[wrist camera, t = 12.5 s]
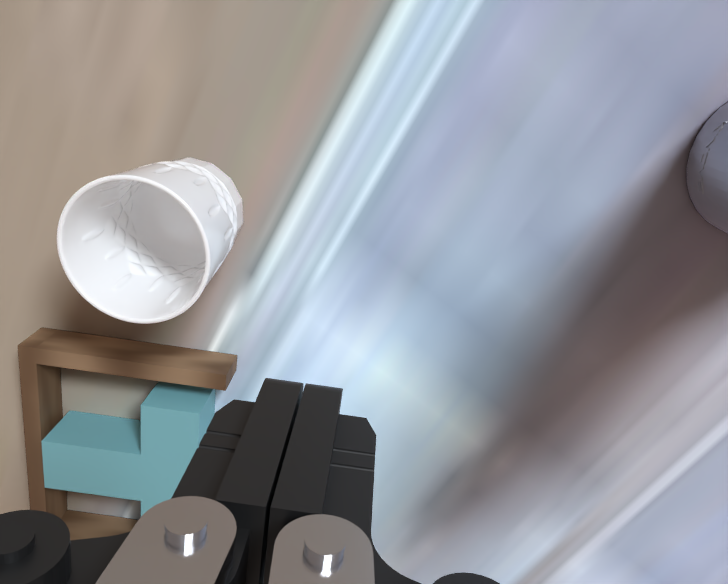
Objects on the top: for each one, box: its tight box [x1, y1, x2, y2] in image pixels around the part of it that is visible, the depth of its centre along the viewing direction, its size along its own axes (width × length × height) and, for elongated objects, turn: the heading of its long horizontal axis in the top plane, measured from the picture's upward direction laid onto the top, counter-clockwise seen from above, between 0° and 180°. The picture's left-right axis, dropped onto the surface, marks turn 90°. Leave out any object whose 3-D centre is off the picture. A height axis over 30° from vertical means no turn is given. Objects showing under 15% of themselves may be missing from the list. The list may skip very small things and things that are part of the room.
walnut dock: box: [18, 328, 237, 540], centre depth 46 cm, size 14×17×3 cm
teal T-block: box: [41, 381, 216, 516], centre depth 45 cm, size 11×12×4 cm
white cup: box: [57, 157, 243, 324], centre depth 36 cm, size 8×8×10 cm
